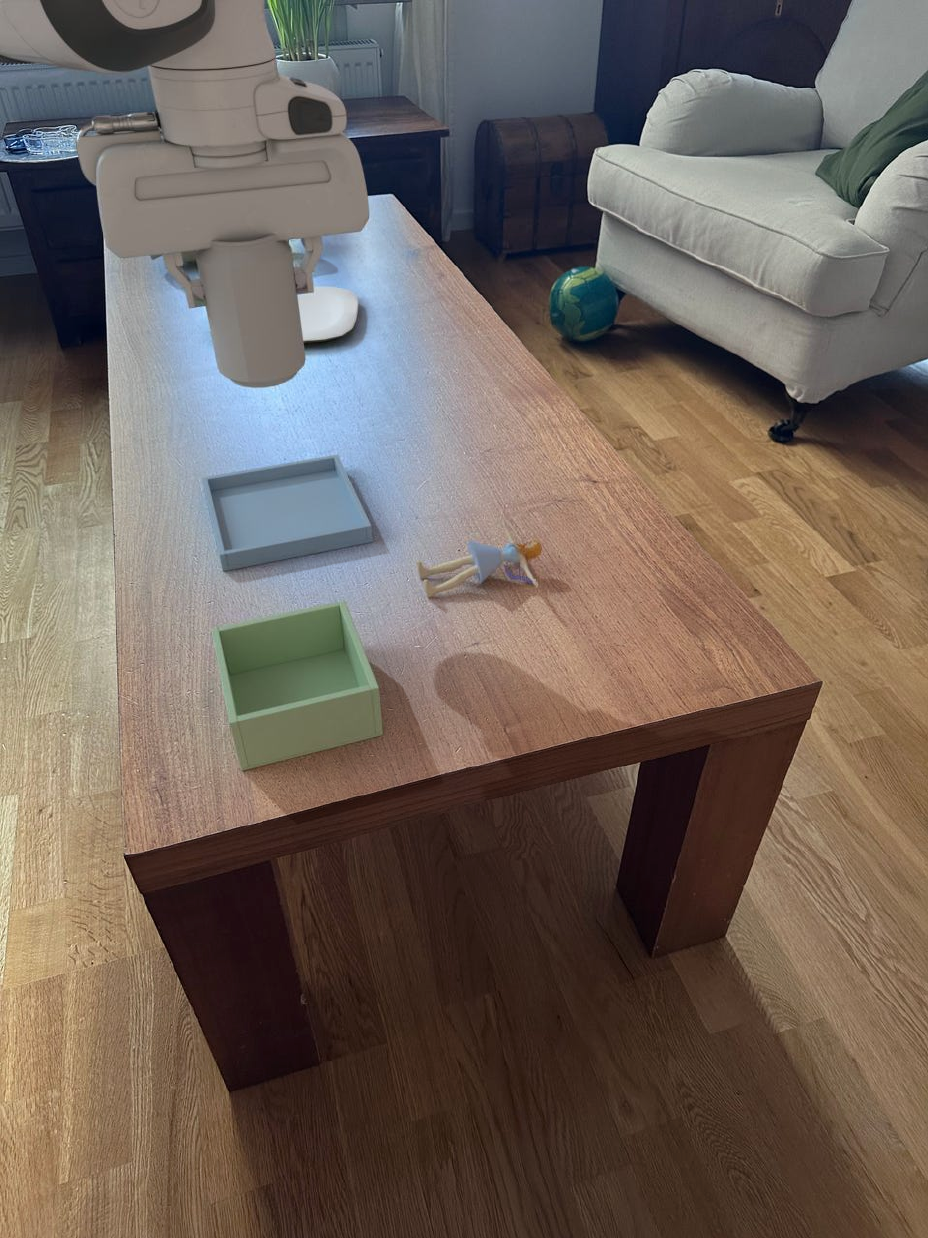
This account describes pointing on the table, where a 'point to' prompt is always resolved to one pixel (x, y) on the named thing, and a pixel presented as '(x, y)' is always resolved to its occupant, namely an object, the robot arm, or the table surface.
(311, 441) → the table surface
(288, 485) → the tray
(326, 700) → the bin
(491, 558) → the fairy figurine
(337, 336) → the plate
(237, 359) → the can
